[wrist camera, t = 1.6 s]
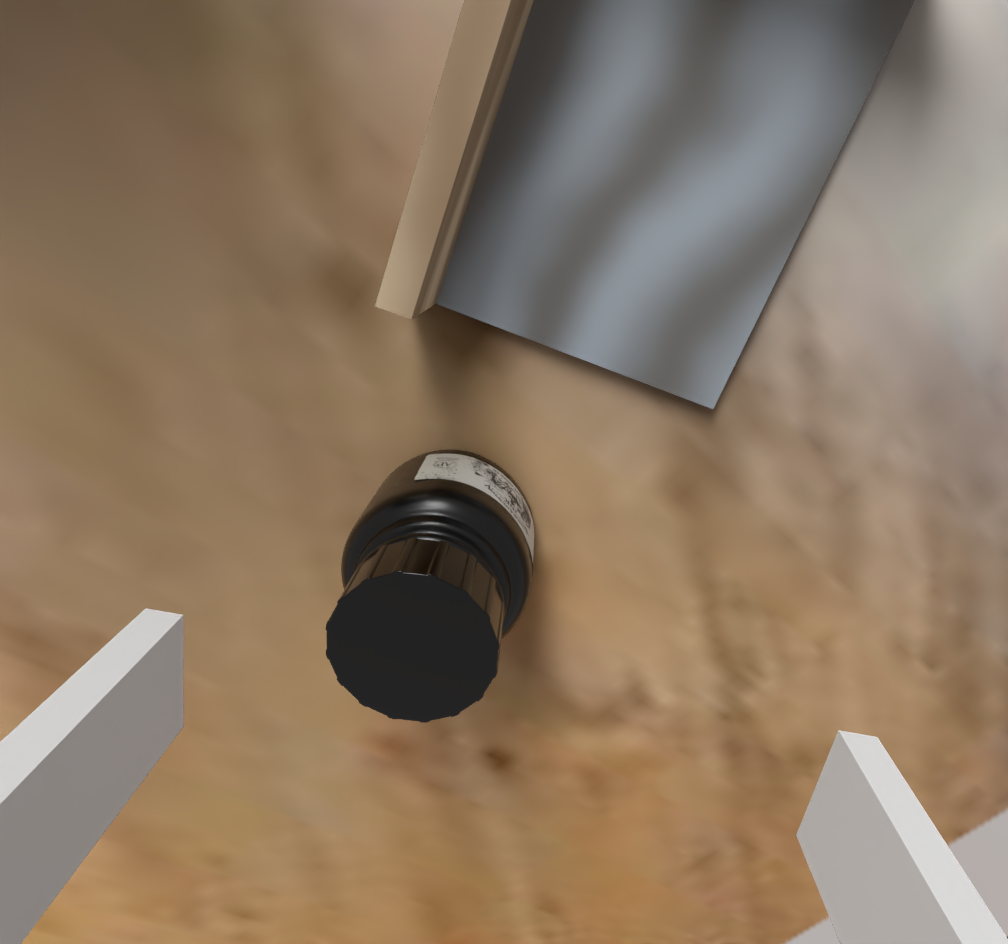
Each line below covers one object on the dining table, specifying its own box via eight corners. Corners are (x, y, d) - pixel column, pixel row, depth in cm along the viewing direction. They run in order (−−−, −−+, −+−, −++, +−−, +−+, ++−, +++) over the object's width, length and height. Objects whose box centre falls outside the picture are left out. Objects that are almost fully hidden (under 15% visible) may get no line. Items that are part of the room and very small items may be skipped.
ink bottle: (568, 551, 38) (577, 690, 26) (440, 625, 40) (397, 782, 28) (467, 408, 35) (428, 493, 24) (336, 494, 37) (244, 610, 26)
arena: (409, 291, 33) (374, 306, 27) (561, -203, 27) (565, -345, 20) (709, 405, 34) (747, 447, 28) (929, -44, 28) (1048, -130, 21)
